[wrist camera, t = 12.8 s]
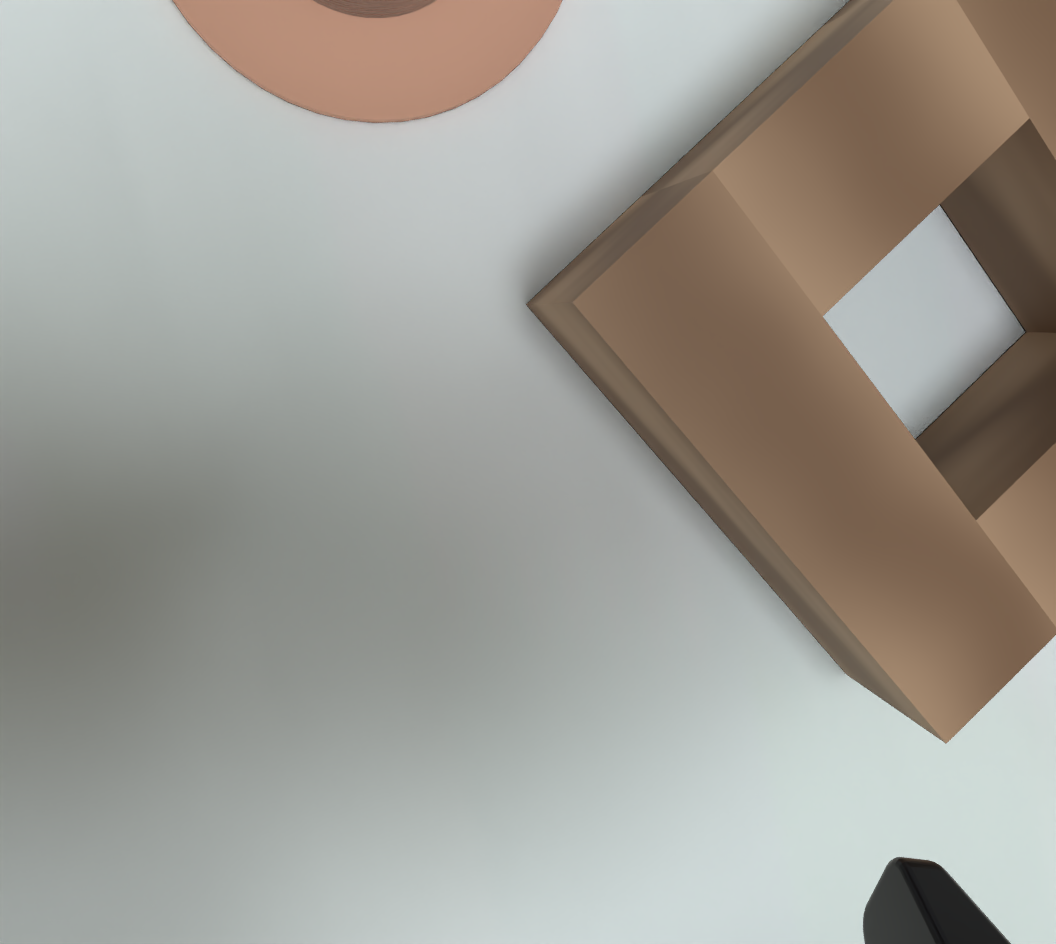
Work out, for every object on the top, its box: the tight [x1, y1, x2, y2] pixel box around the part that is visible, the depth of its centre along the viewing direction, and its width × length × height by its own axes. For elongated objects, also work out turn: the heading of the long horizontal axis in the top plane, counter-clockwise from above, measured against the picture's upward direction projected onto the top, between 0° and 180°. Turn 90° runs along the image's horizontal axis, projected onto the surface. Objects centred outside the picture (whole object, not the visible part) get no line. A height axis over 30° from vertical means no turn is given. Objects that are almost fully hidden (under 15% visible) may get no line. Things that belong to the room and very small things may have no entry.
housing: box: [526, 0, 1056, 743], centre depth 21 cm, size 13×13×4 cm
